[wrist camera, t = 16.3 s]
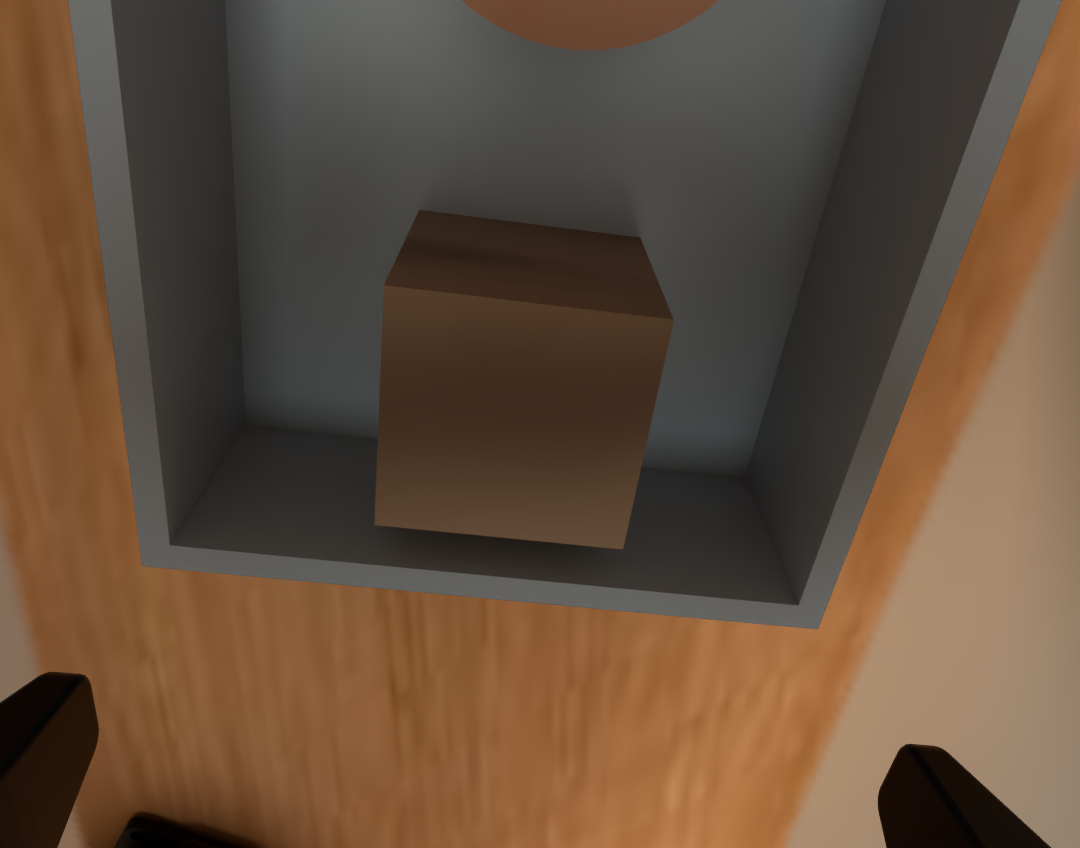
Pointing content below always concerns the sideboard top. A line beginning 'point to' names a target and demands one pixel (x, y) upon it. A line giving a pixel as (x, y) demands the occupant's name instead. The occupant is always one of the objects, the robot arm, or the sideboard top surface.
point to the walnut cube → (517, 380)
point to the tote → (551, 200)
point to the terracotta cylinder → (589, 20)
